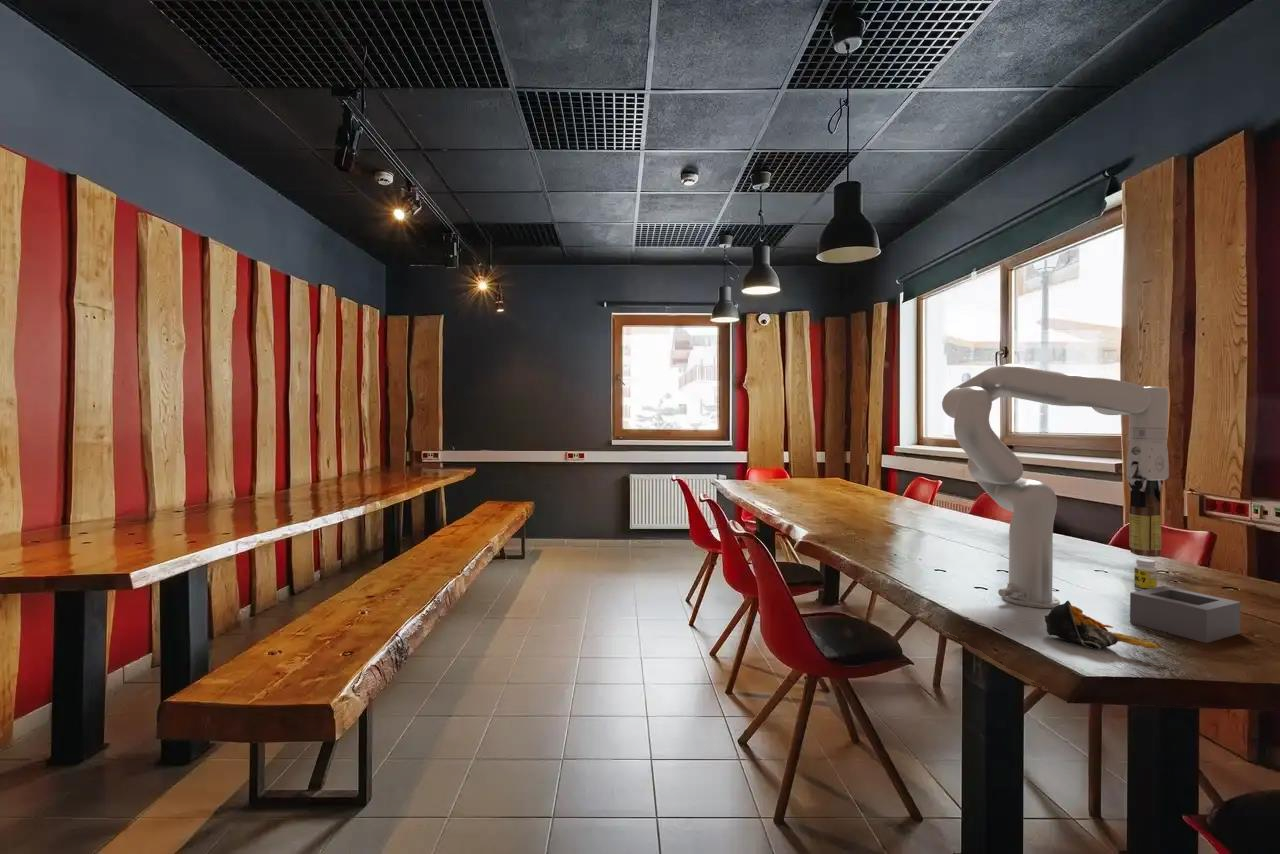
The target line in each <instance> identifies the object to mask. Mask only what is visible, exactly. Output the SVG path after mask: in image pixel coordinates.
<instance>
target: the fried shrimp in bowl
mask: <svg viewBox="0 0 1280 854" xmlns="http://www.w3.org/2000/svg"><path fill="white" fill-rule="evenodd" d="M1083 612H1084V611H1083V610H1082V609H1081V608H1080V607H1078V606H1074V605H1072V604H1071V601H1070V600H1066V601H1065V602H1064V603H1062V604H1060V605H1058V606H1056V607H1054V608H1051V610H1050V611H1049V613H1048V614H1047V615H1043V616H1044V622H1045V624H1046V632H1047V634H1048V635H1049V636H1055V637H1058V638H1059V639H1061V640H1063V641H1066V642H1070V643H1078V644H1081V645H1083V646H1085V647H1087V648H1089V647H1092V648H1091V649H1093V648H1096V649H1095V650H1100V649H1101V648H1109V647H1111V646H1114V645H1116V644H1118V643H1119V642H1122V643H1125V644H1129V645H1132V646H1136V647H1143V648H1145V649H1161V645H1162V644H1161V643H1160V642H1159V641H1157V640H1154V639H1151V638H1150V639H1147V638H1142V637H1141V636H1140V637H1137V636H1133V635H1127V634H1122V633H1116V632H1112V631H1110V630H1108V628H1109V629H1112V628H1114V627H1113V626H1112V625H1109V624H1104V623H1102V622H1099V620H1095V618H1092V617H1090V616H1087V615H1086V614H1083Z"/></svg>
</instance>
